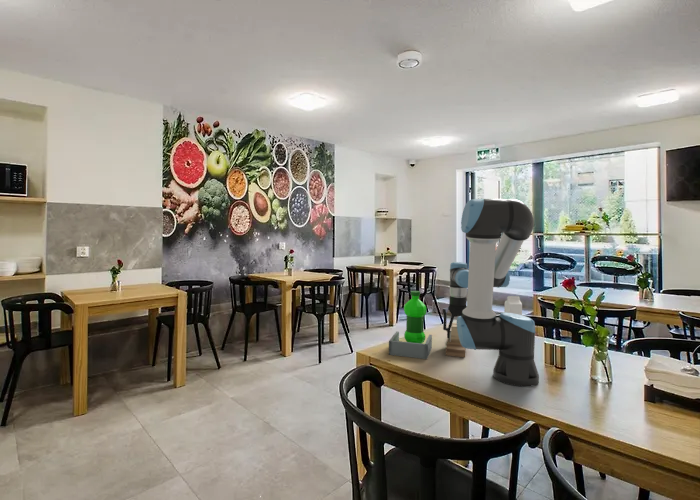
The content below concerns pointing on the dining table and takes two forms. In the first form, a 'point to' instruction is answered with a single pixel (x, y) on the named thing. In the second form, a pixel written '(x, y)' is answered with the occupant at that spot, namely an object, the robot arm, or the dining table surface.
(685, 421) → the dining table surface
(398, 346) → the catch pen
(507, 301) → the milk
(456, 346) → the scraper
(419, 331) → the plastic bottle
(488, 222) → the robot arm
